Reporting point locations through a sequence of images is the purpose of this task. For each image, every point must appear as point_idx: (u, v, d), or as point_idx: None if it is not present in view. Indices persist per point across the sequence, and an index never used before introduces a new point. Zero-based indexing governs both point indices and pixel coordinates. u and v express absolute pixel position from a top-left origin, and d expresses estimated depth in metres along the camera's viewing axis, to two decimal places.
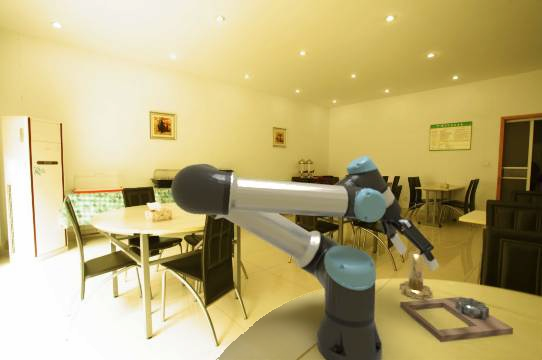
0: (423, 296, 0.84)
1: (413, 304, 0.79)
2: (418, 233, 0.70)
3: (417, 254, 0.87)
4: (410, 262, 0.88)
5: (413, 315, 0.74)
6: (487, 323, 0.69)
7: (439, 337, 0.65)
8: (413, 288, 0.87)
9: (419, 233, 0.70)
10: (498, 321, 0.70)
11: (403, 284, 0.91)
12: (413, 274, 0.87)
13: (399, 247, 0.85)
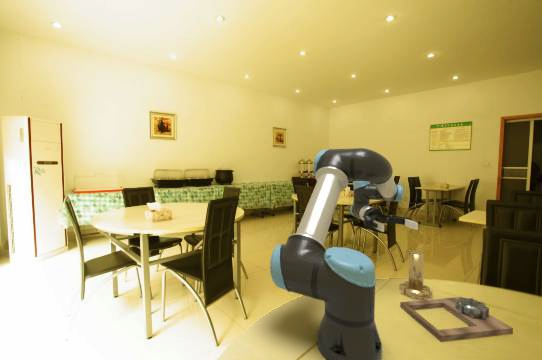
0: (423, 296, 0.84)
1: (413, 304, 0.79)
2: None
3: (417, 254, 0.87)
4: (410, 262, 0.88)
5: (413, 315, 0.74)
6: (487, 323, 0.69)
7: (439, 337, 0.65)
8: (413, 288, 0.87)
9: None
10: (498, 321, 0.70)
11: (403, 284, 0.91)
12: (413, 274, 0.87)
13: None
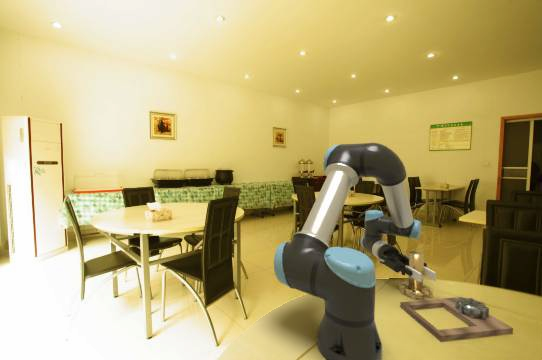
0: (423, 296, 0.84)
1: (413, 304, 0.79)
2: None
3: (417, 254, 0.87)
4: (410, 262, 0.88)
5: (413, 315, 0.74)
6: (487, 323, 0.69)
7: (439, 337, 0.65)
8: (413, 288, 0.87)
9: None
10: (498, 321, 0.70)
11: (403, 284, 0.91)
12: None
13: None
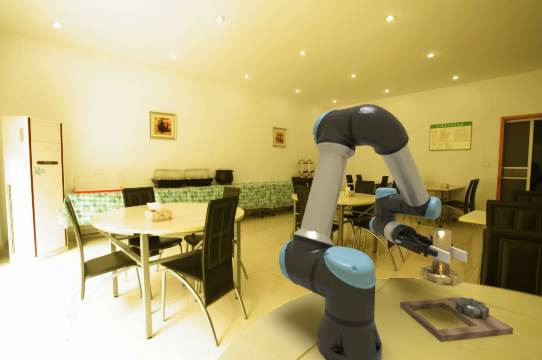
0: (452, 281, 0.69)
1: (413, 304, 0.79)
2: None
3: (443, 231, 0.72)
4: (434, 241, 0.73)
5: (413, 315, 0.74)
6: (487, 323, 0.69)
7: (439, 337, 0.65)
8: (438, 272, 0.72)
9: None
10: (498, 321, 0.70)
11: (425, 268, 0.76)
12: None
13: None
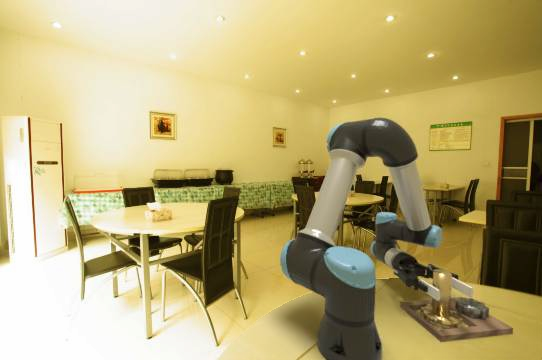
0: (452, 325, 0.69)
1: (413, 304, 0.79)
2: None
3: (443, 273, 0.72)
4: (434, 283, 0.73)
5: (413, 315, 0.74)
6: (487, 323, 0.69)
7: (439, 337, 0.65)
8: (438, 315, 0.72)
9: None
10: (498, 321, 0.70)
11: (425, 308, 0.76)
12: None
13: None
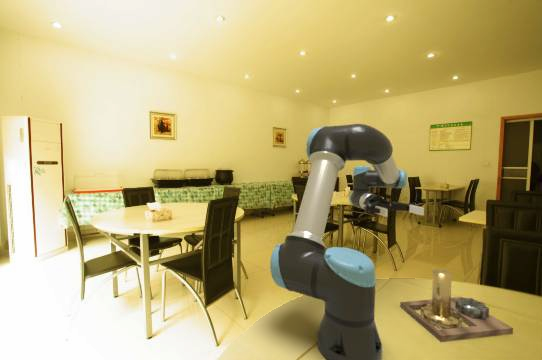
0: (452, 325, 0.69)
1: (413, 304, 0.79)
2: None
3: (443, 273, 0.72)
4: (434, 283, 0.73)
5: (413, 315, 0.74)
6: (487, 323, 0.69)
7: (439, 337, 0.65)
8: (438, 315, 0.72)
9: None
10: (498, 321, 0.70)
11: (425, 308, 0.76)
12: (438, 298, 0.72)
13: None
